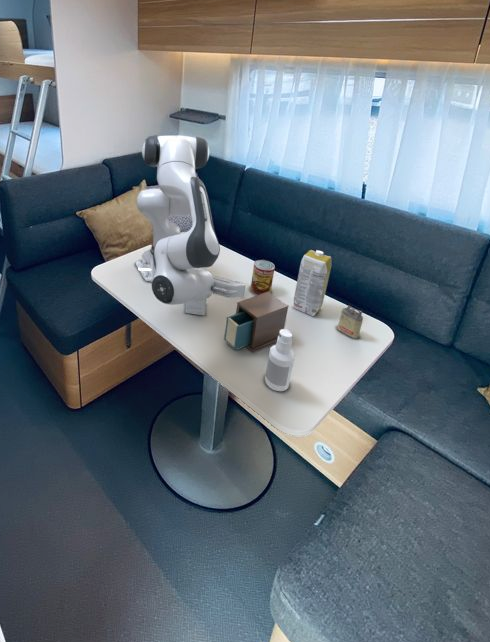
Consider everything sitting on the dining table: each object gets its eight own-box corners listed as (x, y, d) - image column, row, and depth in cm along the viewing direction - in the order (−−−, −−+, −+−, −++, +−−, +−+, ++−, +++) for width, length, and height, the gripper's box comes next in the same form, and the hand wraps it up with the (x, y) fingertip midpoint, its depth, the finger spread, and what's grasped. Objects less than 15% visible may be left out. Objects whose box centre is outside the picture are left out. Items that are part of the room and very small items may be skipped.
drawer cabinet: (232, 333, 141) (236, 301, 136) (261, 321, 147) (267, 290, 143) (252, 351, 133) (258, 318, 128) (283, 338, 139) (289, 306, 134)
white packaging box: (205, 316, 149) (208, 286, 145) (184, 313, 151) (187, 283, 146) (205, 304, 156) (208, 275, 152) (186, 301, 157) (188, 273, 153)
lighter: (335, 328, 144) (341, 305, 141) (340, 324, 147) (346, 301, 143) (355, 340, 139) (361, 315, 136) (360, 335, 141) (367, 311, 138)
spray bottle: (261, 374, 124) (269, 325, 117) (282, 373, 124) (292, 324, 118) (269, 392, 117) (279, 341, 111) (292, 391, 118) (303, 340, 111)
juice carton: (322, 309, 155) (335, 253, 146) (314, 319, 149) (327, 261, 141) (298, 299, 161) (309, 245, 152) (290, 308, 155) (301, 252, 147)
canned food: (249, 293, 164) (253, 267, 160) (251, 283, 171) (255, 258, 166) (269, 298, 161) (274, 271, 157) (271, 287, 168) (275, 262, 164)
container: (223, 339, 136) (226, 317, 133) (255, 327, 142) (258, 305, 139) (235, 350, 132) (238, 327, 128) (267, 337, 138) (270, 314, 135)
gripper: (232, 282, 107) (257, 278, 117) (171, 265, 121) (198, 263, 131) (229, 305, 107) (254, 300, 117) (168, 286, 121) (195, 282, 131)
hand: (224, 280), depth 124 cm, fingers open, 8 cm apart
